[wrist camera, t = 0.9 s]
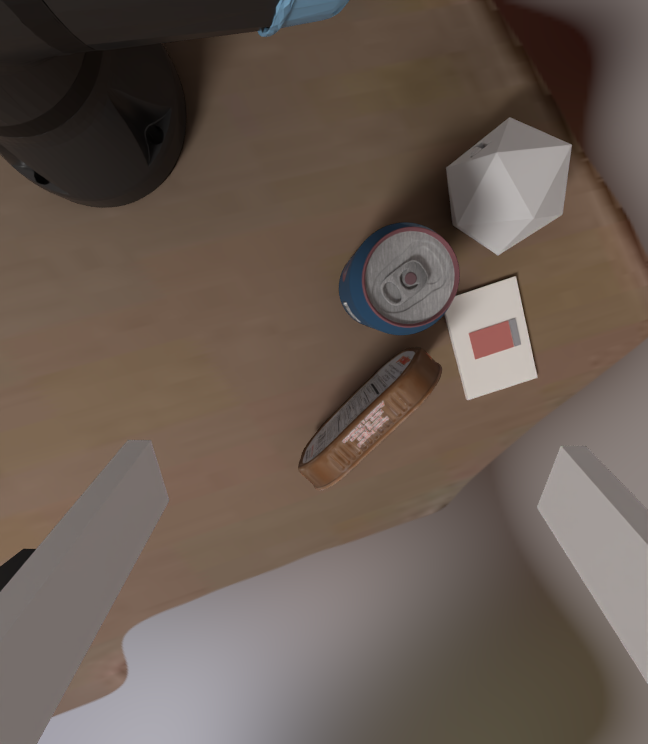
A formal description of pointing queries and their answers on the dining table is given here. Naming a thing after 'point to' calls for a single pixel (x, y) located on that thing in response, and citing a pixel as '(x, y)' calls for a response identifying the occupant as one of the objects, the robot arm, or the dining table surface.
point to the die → (508, 185)
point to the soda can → (400, 279)
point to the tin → (369, 417)
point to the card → (490, 338)
